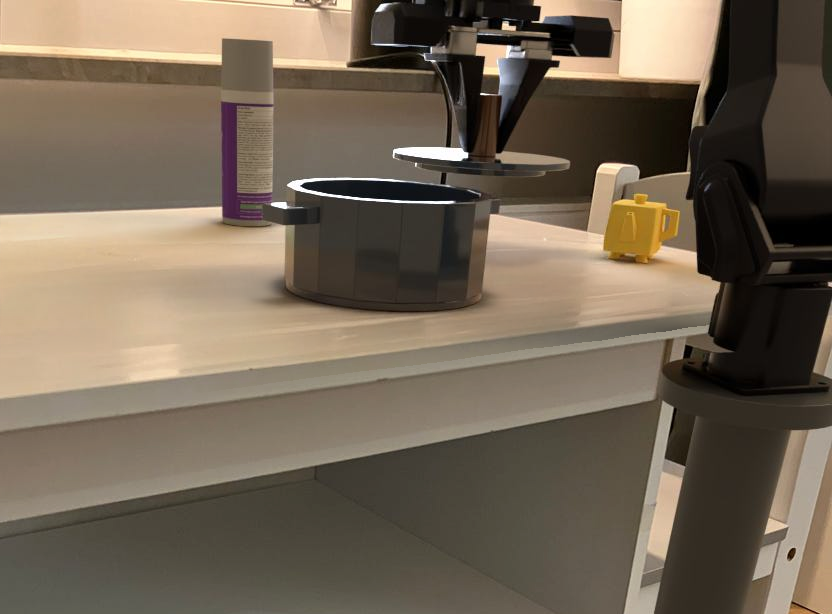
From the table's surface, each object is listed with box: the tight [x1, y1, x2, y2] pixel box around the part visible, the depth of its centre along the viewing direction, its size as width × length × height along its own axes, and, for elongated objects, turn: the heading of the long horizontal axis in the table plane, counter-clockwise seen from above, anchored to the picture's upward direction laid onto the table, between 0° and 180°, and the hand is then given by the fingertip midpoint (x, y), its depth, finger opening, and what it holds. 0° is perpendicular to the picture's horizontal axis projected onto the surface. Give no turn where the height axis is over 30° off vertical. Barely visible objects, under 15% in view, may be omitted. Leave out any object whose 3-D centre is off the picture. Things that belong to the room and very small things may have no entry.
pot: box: [262, 177, 501, 312], centre depth 72 cm, size 14×19×6 cm
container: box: [220, 37, 274, 227], centre depth 95 cm, size 5×5×15 cm
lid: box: [392, 93, 571, 178], centre depth 86 cm, size 15×15×6 cm
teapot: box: [602, 193, 681, 264], centre depth 90 cm, size 8×6×5 cm
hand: (482, 152), depth 87 cm, fingers closed on lid, 2 cm apart
